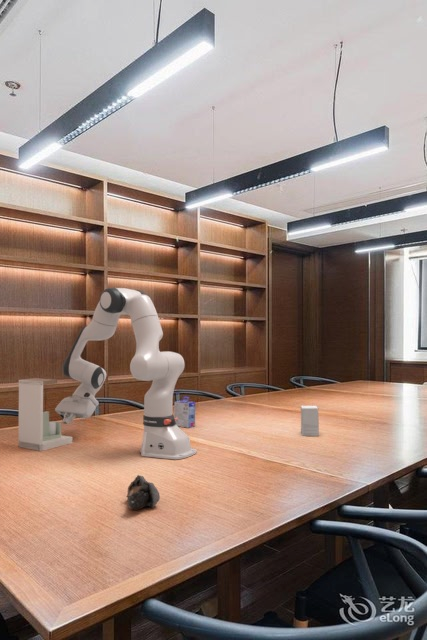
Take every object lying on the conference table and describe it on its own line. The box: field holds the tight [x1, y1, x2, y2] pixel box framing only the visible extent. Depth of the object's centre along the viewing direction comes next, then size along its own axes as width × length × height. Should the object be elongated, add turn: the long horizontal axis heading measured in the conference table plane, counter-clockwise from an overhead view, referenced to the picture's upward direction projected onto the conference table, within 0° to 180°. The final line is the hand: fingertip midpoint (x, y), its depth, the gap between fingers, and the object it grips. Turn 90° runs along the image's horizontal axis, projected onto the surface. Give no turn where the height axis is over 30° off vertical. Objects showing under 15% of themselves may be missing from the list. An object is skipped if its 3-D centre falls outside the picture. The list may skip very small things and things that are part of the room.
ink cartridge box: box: [173, 395, 196, 429], centre depth 231 cm, size 10×6×14 cm, turn 53°
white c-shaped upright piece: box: [18, 377, 73, 452], centre depth 194 cm, size 14×16×28 cm
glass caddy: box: [43, 410, 62, 441], centre depth 193 cm, size 6×12×11 cm, turn 147°
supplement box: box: [300, 405, 320, 437], centre depth 210 cm, size 7×7×13 cm
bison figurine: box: [126, 474, 161, 511], centre depth 125 cm, size 12×7×10 cm
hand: (64, 423), depth 202 cm, fingers closed
